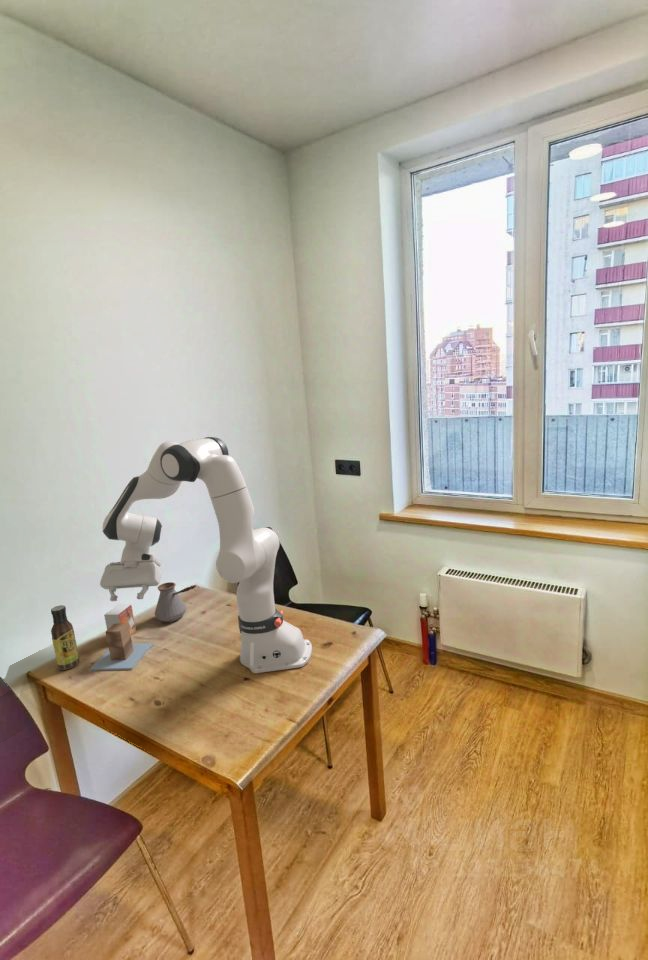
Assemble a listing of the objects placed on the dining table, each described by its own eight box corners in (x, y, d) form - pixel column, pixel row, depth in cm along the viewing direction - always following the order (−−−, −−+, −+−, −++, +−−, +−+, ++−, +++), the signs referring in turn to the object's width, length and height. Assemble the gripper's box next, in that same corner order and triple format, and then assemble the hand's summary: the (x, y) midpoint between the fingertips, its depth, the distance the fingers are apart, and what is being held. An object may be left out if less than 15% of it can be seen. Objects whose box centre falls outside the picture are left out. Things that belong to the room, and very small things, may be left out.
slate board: (152, 644, 159) (152, 643, 159) (132, 669, 145) (131, 667, 145) (114, 645, 161) (113, 644, 161) (90, 670, 147) (89, 668, 147)
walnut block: (133, 650, 155) (128, 623, 153) (125, 659, 150) (120, 631, 148) (119, 651, 156) (113, 623, 154) (111, 660, 151) (105, 631, 149)
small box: (123, 642, 162) (117, 614, 160) (109, 642, 163) (103, 614, 161) (136, 630, 170) (131, 603, 168) (123, 630, 171) (117, 603, 169)
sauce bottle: (68, 672, 147) (55, 614, 143) (53, 670, 149) (40, 612, 145) (84, 660, 153) (72, 604, 149) (70, 658, 155) (58, 602, 151)
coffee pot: (149, 622, 175) (142, 584, 172) (172, 608, 185) (166, 572, 182) (191, 632, 165) (185, 592, 162) (213, 616, 175) (208, 579, 172)
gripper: (101, 559, 162) (91, 598, 155) (157, 555, 160) (150, 594, 153) (111, 566, 168) (102, 604, 160) (165, 562, 165) (159, 600, 158)
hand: (126, 599), depth 156 cm, fingers open, 8 cm apart
